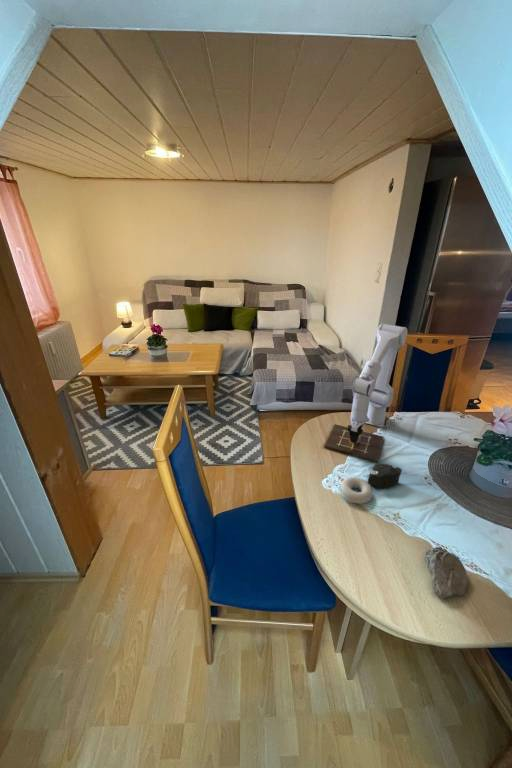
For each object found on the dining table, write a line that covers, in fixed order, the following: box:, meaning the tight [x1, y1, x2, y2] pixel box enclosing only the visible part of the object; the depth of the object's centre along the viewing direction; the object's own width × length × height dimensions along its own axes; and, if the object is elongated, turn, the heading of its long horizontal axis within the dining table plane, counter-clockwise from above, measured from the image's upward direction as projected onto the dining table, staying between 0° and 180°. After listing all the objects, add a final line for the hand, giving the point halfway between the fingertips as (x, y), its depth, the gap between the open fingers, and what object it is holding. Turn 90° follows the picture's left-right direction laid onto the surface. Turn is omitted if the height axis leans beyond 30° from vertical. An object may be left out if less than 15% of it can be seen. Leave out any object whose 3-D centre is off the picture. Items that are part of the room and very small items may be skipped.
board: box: [324, 423, 384, 464], centre depth 121 cm, size 16×20×1 cm
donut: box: [340, 476, 373, 505], centre depth 98 cm, size 10×4×10 cm
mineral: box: [367, 463, 403, 490], centre depth 101 cm, size 10×9×6 cm
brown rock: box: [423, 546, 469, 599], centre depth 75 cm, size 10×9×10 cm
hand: (355, 436), depth 120 cm, fingers open, 7 cm apart
